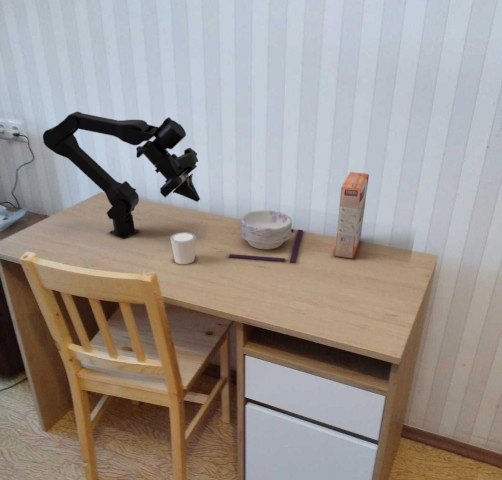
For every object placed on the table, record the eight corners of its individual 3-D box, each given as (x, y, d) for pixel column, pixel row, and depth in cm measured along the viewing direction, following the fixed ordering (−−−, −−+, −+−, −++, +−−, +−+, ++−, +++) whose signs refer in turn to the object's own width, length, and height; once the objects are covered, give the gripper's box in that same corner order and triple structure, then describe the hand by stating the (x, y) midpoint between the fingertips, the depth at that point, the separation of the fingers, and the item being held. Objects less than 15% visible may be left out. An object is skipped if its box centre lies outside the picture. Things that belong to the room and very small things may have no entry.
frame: (228, 257, 152) (228, 256, 152) (243, 226, 171) (243, 225, 171) (295, 262, 150) (295, 261, 149) (302, 231, 168) (302, 229, 168)
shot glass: (172, 254, 154) (171, 232, 150) (196, 253, 155) (195, 231, 151) (171, 265, 148) (169, 242, 145) (196, 264, 149) (195, 241, 145)
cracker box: (354, 259, 151) (362, 188, 140) (333, 256, 153) (339, 186, 142) (362, 240, 162) (370, 172, 151) (342, 237, 164) (348, 170, 153)
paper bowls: (297, 237, 164) (298, 213, 160) (280, 258, 152) (281, 232, 148) (252, 229, 169) (252, 206, 165) (232, 248, 157) (231, 223, 153)
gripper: (170, 149, 141) (210, 194, 145) (189, 133, 157) (225, 174, 161) (143, 175, 146) (182, 218, 150) (164, 157, 162) (199, 196, 166)
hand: (198, 200), depth 157 cm, fingers closed
